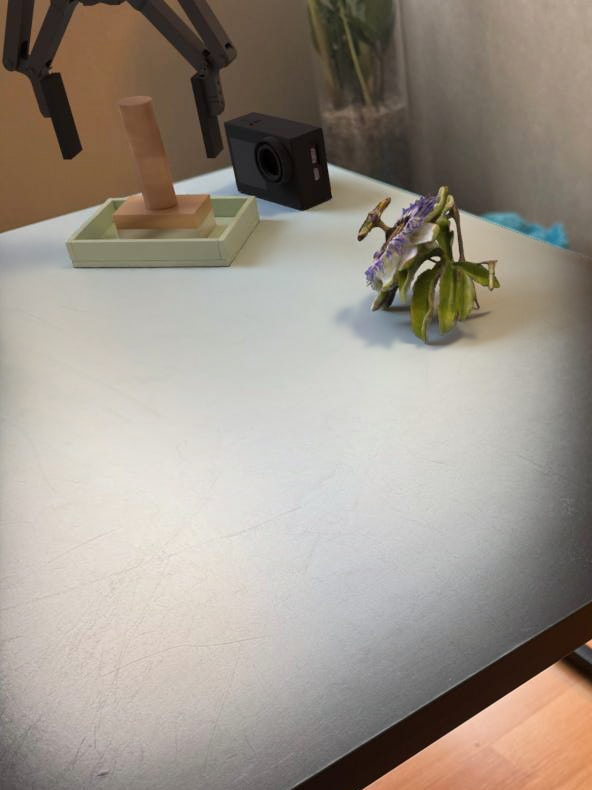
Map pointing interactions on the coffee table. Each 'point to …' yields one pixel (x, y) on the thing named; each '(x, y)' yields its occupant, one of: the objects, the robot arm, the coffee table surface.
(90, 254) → the tray
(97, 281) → the coffee table surface
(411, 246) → the passion flower
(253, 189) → the digital camera
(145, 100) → the brush
